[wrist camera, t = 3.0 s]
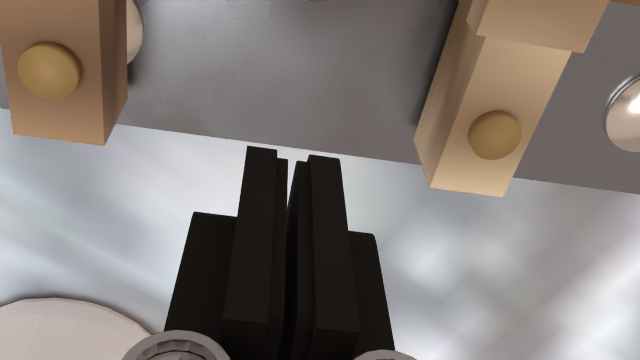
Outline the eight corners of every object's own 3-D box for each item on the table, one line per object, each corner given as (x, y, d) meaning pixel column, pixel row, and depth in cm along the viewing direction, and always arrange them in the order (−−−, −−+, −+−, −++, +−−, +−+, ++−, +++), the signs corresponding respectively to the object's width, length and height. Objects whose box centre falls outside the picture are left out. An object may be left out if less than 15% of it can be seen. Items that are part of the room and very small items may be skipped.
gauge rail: (-46, -313, 13) (-181, -348, 9) (877, -97, 17) (1047, -59, 13) (8, 59, 19) (-65, 132, 15) (698, 160, 22) (782, 239, 19)
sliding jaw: (506, -184, 14) (558, -174, 11) (615, -159, 14) (690, -144, 12) (403, 136, 19) (422, 194, 17) (484, 147, 20) (515, 206, 17)
